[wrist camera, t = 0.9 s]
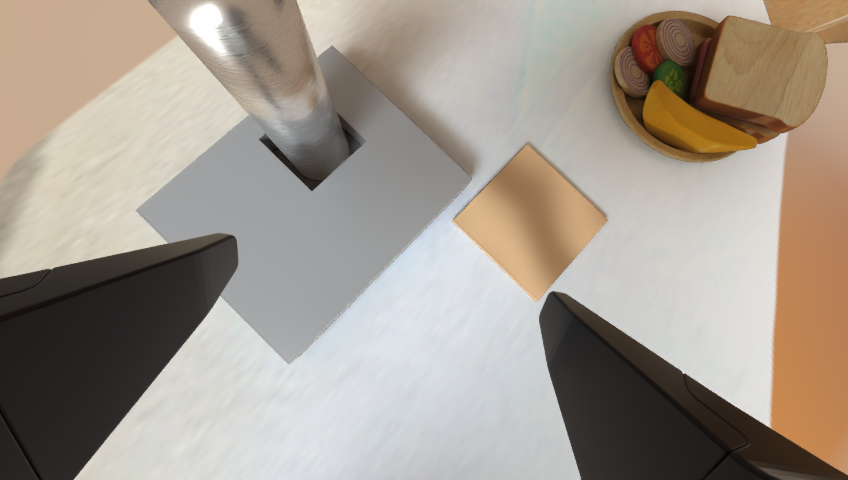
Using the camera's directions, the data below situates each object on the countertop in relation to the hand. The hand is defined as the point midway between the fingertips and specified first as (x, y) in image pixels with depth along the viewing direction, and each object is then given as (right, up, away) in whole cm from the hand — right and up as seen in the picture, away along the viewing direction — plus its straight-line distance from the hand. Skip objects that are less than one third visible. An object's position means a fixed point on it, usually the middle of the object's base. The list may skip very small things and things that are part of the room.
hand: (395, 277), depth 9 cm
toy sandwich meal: (+22, +13, +17) cm, 31 cm away
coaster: (+8, +2, +14) cm, 17 cm away
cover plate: (-6, +4, +13) cm, 15 cm away
